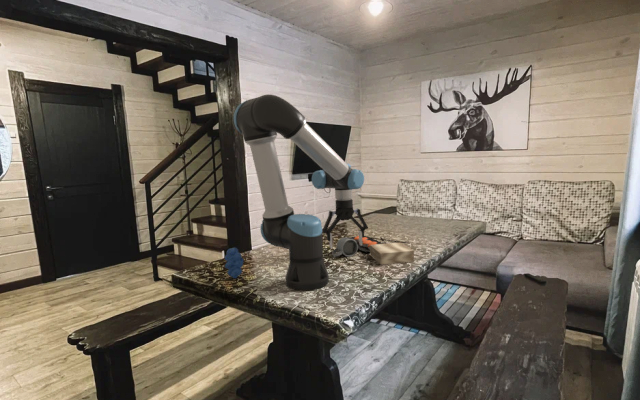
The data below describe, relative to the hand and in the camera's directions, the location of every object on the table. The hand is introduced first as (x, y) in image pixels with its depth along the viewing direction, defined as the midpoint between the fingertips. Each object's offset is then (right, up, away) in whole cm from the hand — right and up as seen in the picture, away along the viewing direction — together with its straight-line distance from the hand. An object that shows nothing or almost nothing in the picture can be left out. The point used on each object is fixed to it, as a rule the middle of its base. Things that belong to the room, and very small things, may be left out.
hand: (346, 246), depth 148 cm
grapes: (-43, -9, -24) cm, 50 cm away
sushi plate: (+18, -2, +17) cm, 25 cm away
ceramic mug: (-1, -4, 0) cm, 4 cm away
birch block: (+18, -4, -8) cm, 20 cm away
